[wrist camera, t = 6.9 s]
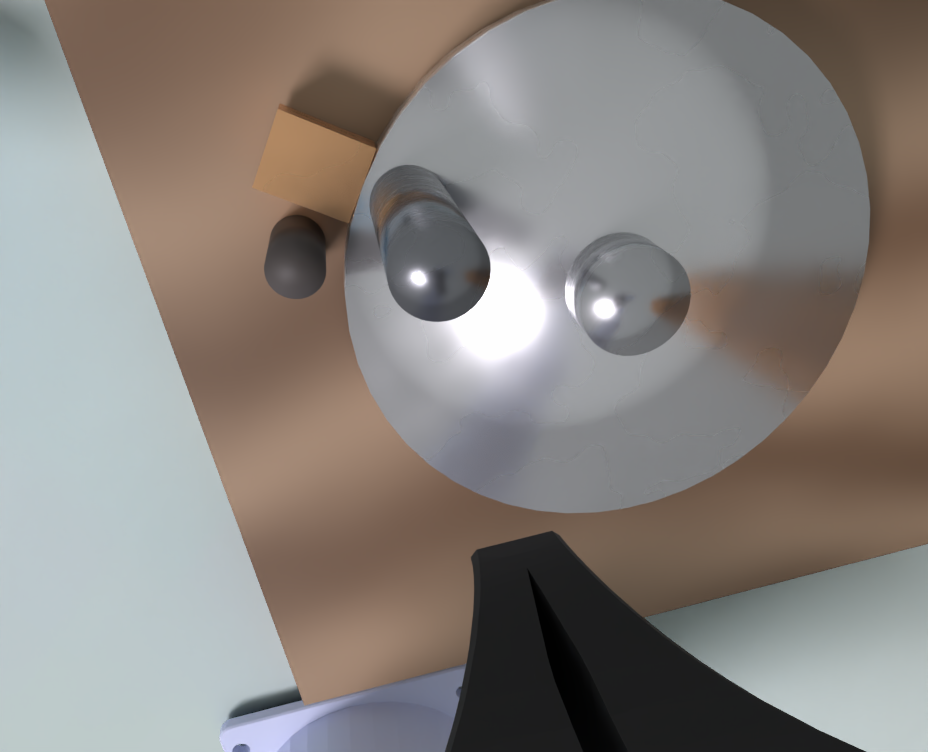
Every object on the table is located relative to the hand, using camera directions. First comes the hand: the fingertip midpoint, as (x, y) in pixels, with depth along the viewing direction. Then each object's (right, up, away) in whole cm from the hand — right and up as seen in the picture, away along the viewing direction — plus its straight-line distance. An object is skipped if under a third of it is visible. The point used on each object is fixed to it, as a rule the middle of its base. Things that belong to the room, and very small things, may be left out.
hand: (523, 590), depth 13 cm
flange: (+1, +6, +6) cm, 9 cm away
